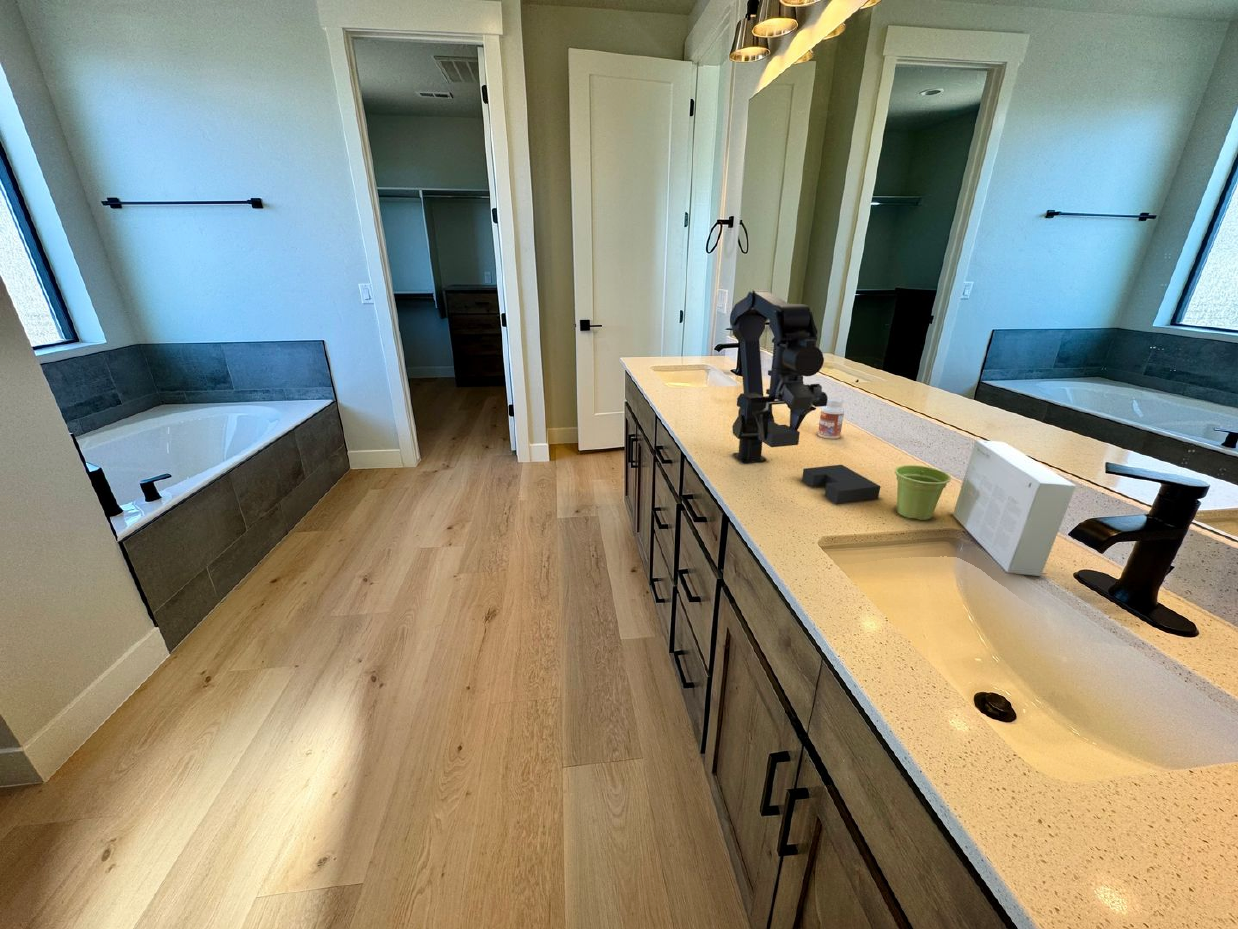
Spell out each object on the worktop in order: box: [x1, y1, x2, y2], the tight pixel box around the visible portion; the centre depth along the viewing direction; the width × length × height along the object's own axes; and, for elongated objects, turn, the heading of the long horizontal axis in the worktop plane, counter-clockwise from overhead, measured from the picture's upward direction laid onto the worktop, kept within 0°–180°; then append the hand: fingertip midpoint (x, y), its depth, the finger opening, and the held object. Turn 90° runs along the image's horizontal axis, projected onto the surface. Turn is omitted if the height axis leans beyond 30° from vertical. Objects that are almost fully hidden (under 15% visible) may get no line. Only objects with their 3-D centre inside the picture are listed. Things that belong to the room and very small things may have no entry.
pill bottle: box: [817, 396, 845, 440], centre depth 142 cm, size 6×6×11 cm
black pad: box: [758, 421, 801, 448], centre depth 110 cm, size 6×9×3 cm
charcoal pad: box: [801, 464, 881, 505], centre depth 109 cm, size 13×10×3 cm
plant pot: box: [894, 464, 952, 521], centre depth 96 cm, size 9×9×9 cm
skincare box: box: [952, 439, 1077, 577], centre depth 84 cm, size 21×6×16 cm, turn 168°
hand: (778, 437), depth 109 cm, fingers closed on black pad, 6 cm apart
